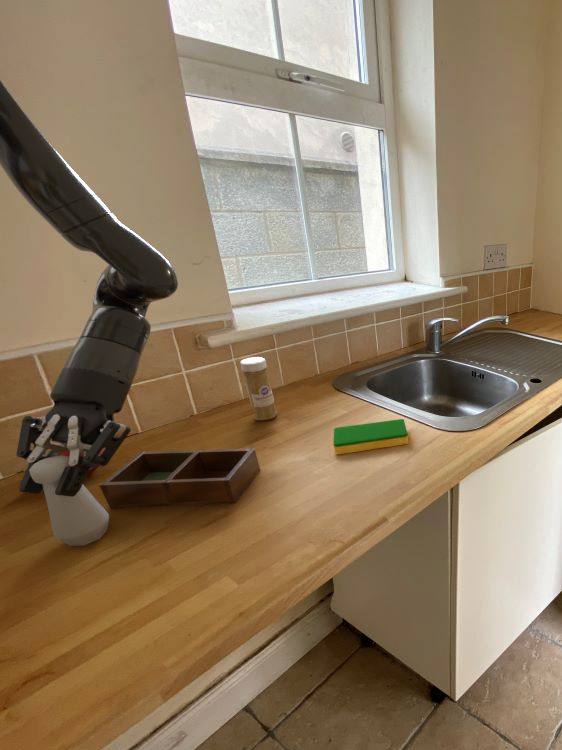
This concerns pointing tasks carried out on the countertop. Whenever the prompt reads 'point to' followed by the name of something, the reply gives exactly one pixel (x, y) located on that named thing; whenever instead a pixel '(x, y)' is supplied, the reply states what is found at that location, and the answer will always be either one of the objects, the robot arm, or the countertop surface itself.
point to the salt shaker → (69, 505)
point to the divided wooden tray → (181, 478)
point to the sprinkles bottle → (259, 388)
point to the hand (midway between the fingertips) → (47, 493)
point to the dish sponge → (370, 436)
